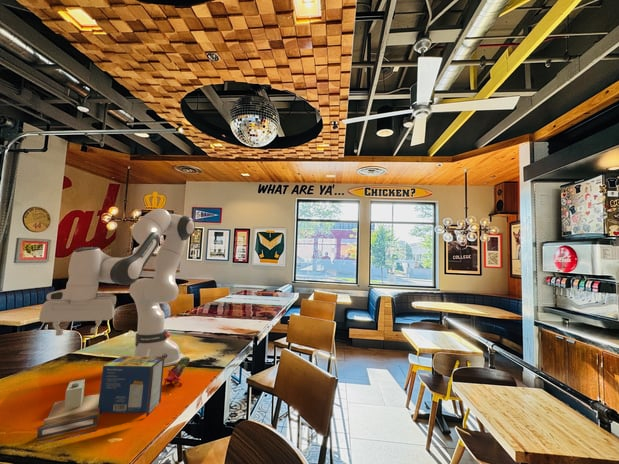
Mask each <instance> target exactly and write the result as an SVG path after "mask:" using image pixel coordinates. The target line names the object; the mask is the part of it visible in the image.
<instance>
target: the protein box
mask: <svg viewBox="0 0 619 464" xmlns="http://www.w3.org/2000/svg"><path fill="white" fill-rule="evenodd" d="M164 367H165V366H164V357H140V356H134V355H133V356H127V355H125V356H123V355H121V356H119V357H117V358H115V359H114V360H111V361H109V362H107V363H105V364H103V365H102V371H101V381H100V389H99V394H100V395H99V403H98V408H100V411H99V414H142V413H143V414H144V413H145V416H146V417H147V416H148V415H150V413H152V411H154V410H155V408H156V407H157V406H158V405H159V404H160V403H161V401H162V391H163V389H162V388H163V380H164V379H163V377H164V376H163V375H164Z"/></svg>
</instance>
